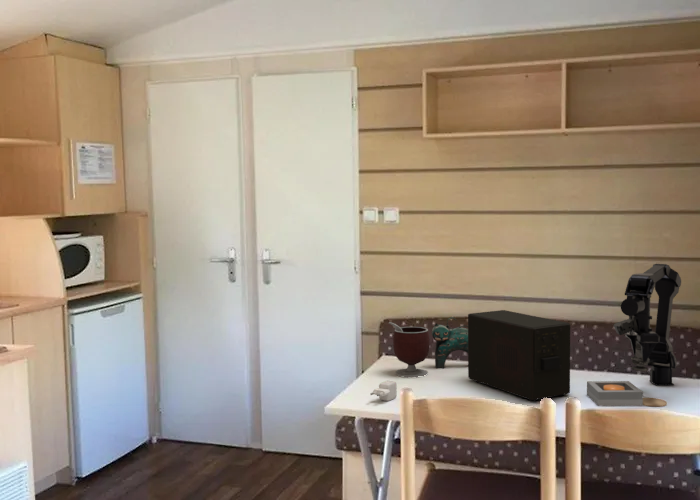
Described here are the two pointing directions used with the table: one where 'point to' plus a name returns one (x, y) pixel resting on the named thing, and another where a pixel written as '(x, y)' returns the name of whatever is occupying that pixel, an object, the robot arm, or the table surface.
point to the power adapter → (386, 390)
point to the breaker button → (613, 387)
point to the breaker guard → (614, 394)
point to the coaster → (654, 402)
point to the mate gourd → (411, 348)
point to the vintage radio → (519, 353)
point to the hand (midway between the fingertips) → (640, 358)
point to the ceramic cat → (448, 342)
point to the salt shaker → (639, 359)
